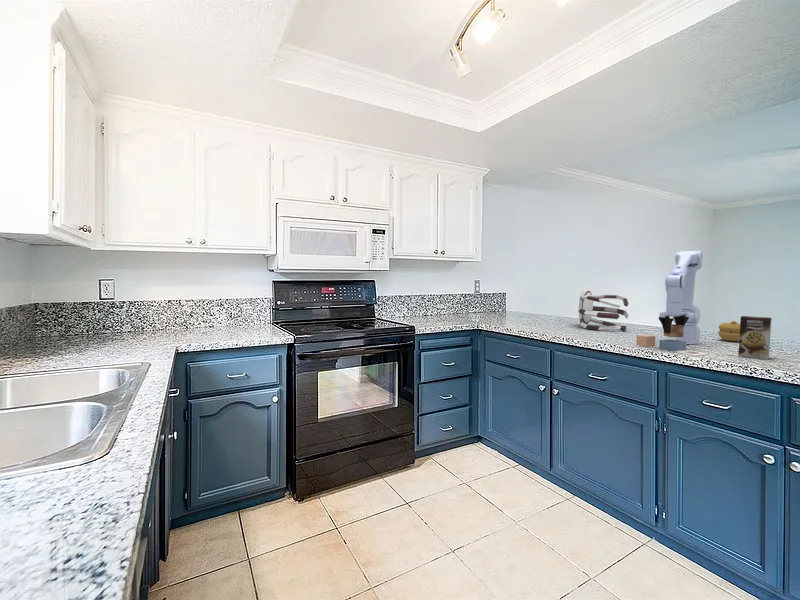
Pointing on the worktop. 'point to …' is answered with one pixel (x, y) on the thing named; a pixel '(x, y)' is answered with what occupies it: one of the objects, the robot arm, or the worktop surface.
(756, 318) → the coffee box
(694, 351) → the card
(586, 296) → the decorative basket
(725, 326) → the pot
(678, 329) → the walnut block
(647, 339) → the peach block
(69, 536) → the worktop surface
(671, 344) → the blue block
